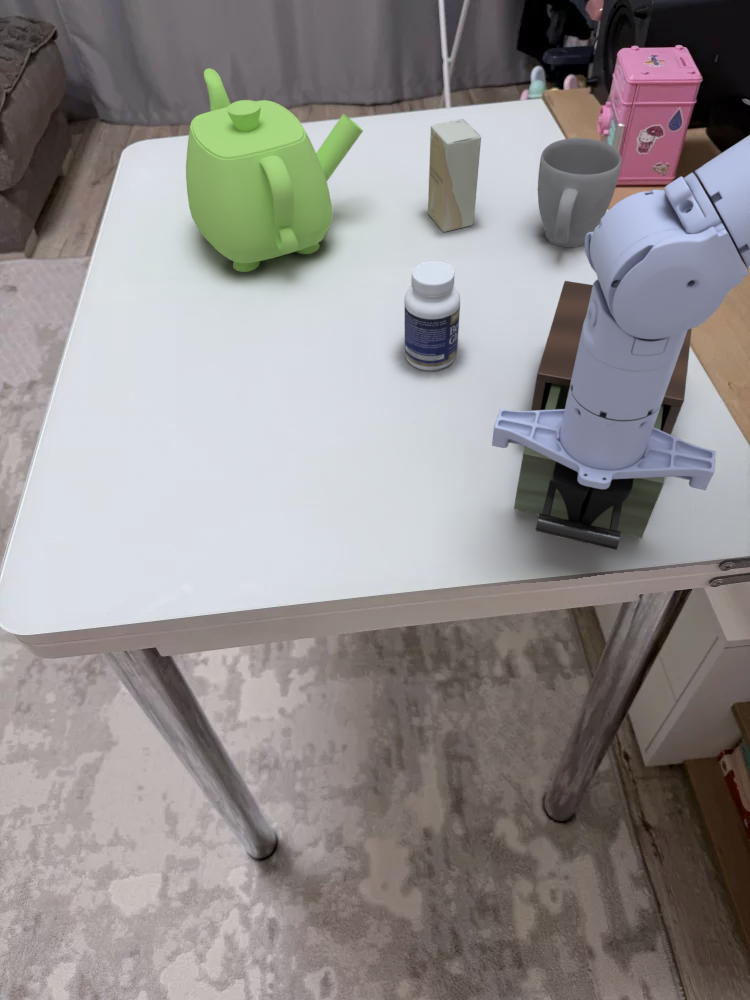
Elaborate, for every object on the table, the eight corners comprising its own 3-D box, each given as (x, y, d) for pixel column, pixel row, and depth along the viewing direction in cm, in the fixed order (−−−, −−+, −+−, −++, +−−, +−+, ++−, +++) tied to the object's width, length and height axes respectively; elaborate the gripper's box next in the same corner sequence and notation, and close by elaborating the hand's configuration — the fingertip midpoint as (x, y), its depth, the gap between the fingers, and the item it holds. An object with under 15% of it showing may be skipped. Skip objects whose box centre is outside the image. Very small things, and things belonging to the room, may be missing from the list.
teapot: (403, 253, 88) (402, 115, 76) (231, 305, 83) (200, 166, 71) (322, 165, 103) (310, 37, 91) (171, 204, 98) (137, 74, 85)
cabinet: (656, 472, 65) (684, 400, 58) (524, 445, 68) (537, 373, 61) (669, 373, 73) (694, 300, 66) (551, 353, 76) (564, 280, 69)
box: (426, 213, 94) (428, 123, 85) (458, 205, 95) (462, 116, 86) (443, 234, 91) (447, 142, 82) (475, 226, 91) (482, 135, 83)
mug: (539, 211, 93) (550, 133, 86) (610, 222, 91) (628, 142, 83) (516, 263, 86) (526, 183, 79) (593, 276, 84) (610, 195, 76)
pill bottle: (458, 372, 74) (463, 288, 67) (404, 372, 75) (404, 290, 67) (455, 337, 78) (460, 255, 70) (404, 338, 78) (403, 256, 70)
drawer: (635, 588, 56) (658, 534, 51) (500, 555, 59) (509, 501, 54) (656, 431, 67) (677, 374, 62) (541, 409, 69) (551, 352, 64)
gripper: (489, 409, 46) (474, 539, 56) (736, 458, 43) (672, 587, 53) (512, 340, 50) (495, 473, 61) (739, 379, 47) (679, 513, 57)
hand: (578, 521), depth 57 cm, fingers closed, pressing on drawer
